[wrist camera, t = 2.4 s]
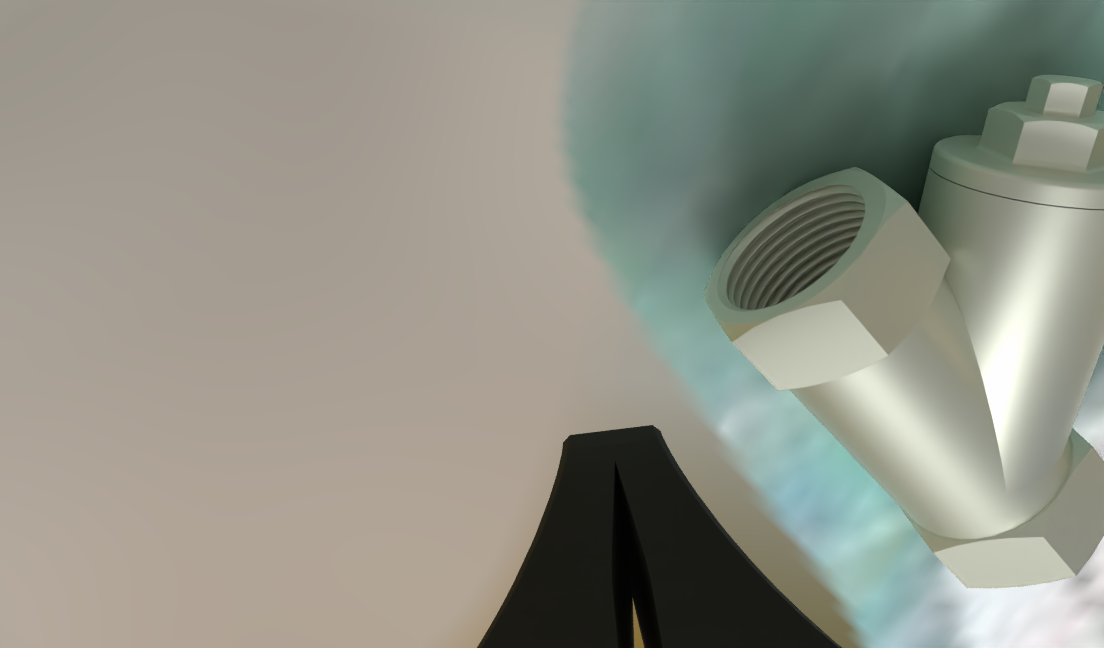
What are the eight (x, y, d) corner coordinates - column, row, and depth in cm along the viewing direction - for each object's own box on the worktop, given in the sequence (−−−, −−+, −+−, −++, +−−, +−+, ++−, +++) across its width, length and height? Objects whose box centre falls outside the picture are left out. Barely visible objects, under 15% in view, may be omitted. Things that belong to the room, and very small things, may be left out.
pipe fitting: (988, 11, 14) (686, 267, 16) (1157, 39, 10) (743, 366, 12) (1174, 310, 17) (902, 497, 19) (1354, 410, 13) (998, 630, 15)
